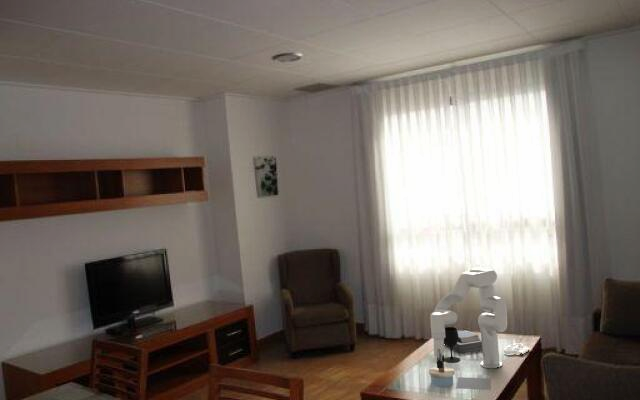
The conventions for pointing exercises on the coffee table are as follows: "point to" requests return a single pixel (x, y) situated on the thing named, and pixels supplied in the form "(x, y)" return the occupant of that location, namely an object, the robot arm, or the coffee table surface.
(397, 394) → the coffee table surface
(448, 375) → the lid
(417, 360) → the coffee table surface
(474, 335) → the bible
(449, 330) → the wine glass
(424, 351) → the coffee table surface
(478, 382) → the mat
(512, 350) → the white brass knuckles
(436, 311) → the robot arm
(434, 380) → the bowl
